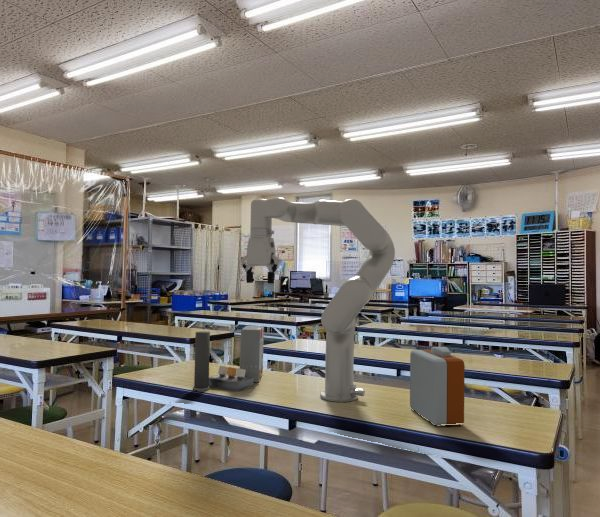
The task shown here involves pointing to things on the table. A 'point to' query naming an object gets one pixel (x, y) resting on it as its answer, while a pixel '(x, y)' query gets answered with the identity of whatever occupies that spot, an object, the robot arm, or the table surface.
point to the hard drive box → (252, 351)
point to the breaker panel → (230, 382)
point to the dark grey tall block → (202, 361)
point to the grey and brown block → (437, 385)
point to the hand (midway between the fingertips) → (260, 282)
